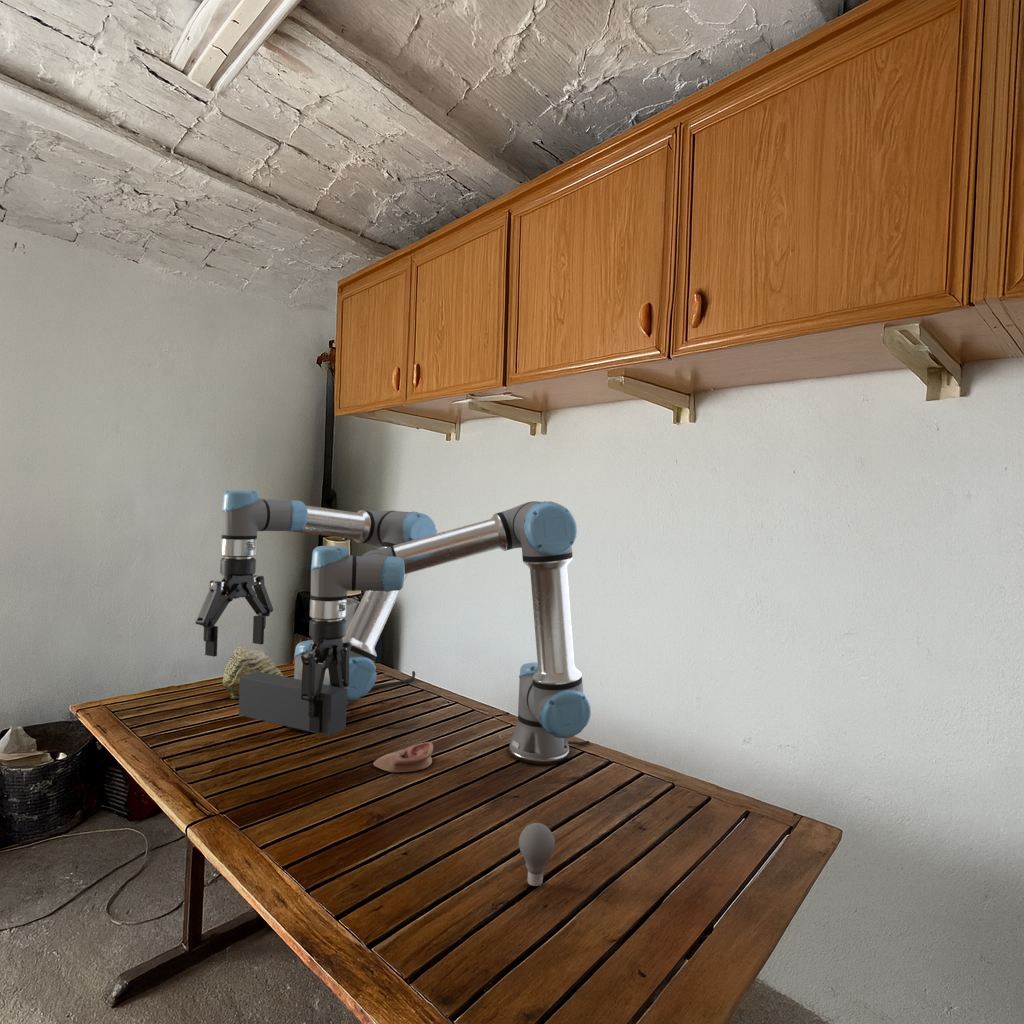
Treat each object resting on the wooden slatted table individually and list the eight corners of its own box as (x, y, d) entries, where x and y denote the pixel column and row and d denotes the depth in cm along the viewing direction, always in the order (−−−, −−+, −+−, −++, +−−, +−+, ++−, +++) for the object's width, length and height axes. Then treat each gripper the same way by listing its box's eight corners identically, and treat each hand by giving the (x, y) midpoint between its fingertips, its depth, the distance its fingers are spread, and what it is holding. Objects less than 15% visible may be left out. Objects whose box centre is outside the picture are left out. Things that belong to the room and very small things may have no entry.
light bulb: (515, 873, 109) (518, 816, 109) (550, 873, 109) (552, 816, 109) (518, 895, 103) (521, 834, 103) (555, 895, 104) (558, 834, 103)
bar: (238, 715, 142) (239, 676, 142) (256, 708, 147) (257, 671, 147) (330, 736, 132) (331, 695, 132) (346, 728, 136) (347, 688, 136)
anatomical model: (368, 752, 148) (387, 734, 159) (367, 769, 148) (386, 750, 159) (422, 759, 145) (438, 741, 156) (421, 776, 145) (437, 757, 156)
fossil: (218, 695, 195) (220, 647, 195) (278, 685, 208) (279, 640, 207) (228, 703, 189) (230, 653, 188) (289, 692, 201) (290, 645, 201)
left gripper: (204, 562, 132) (201, 663, 133) (290, 554, 155) (287, 640, 156) (179, 559, 135) (176, 658, 136) (266, 552, 158) (263, 637, 159)
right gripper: (312, 627, 125) (309, 744, 126) (368, 613, 142) (365, 716, 142) (283, 623, 128) (280, 737, 129) (341, 610, 145) (338, 711, 145)
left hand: (235, 649), depth 146 cm, fingers open, 13 cm apart
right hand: (324, 726), depth 136 cm, fingers closed on bar, 5 cm apart
